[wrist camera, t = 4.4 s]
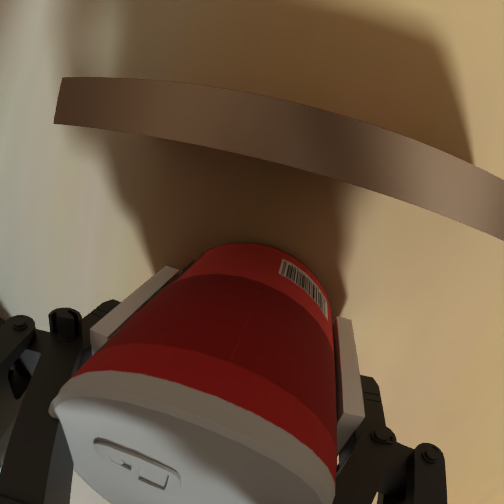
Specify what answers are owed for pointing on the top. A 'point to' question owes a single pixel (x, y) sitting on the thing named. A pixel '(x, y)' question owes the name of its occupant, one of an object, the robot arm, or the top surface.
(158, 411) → the canned food
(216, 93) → the walnut screen
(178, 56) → the top surface
